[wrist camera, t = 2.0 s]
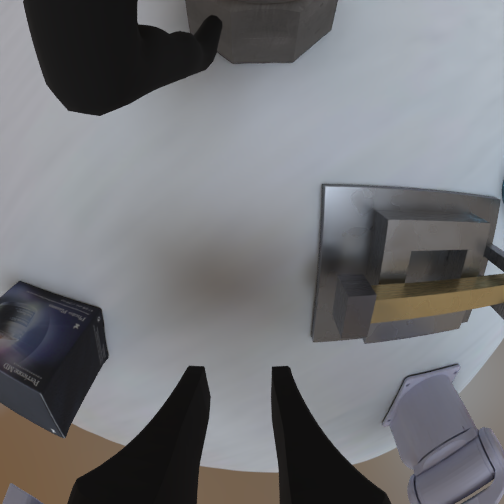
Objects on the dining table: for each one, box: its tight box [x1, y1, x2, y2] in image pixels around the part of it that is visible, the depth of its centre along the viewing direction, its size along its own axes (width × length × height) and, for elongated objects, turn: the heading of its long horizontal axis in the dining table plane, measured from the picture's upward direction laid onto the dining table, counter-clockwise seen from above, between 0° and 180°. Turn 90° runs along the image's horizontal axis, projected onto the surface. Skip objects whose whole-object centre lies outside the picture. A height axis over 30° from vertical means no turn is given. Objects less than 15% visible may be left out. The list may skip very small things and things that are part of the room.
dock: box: [311, 184, 504, 344], centre depth 17 cm, size 12×16×6 cm
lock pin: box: [332, 274, 504, 339], centre depth 15 cm, size 3×16×2 cm, turn 92°
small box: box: [0, 281, 108, 438], centre depth 18 cm, size 11×6×10 cm, turn 79°
